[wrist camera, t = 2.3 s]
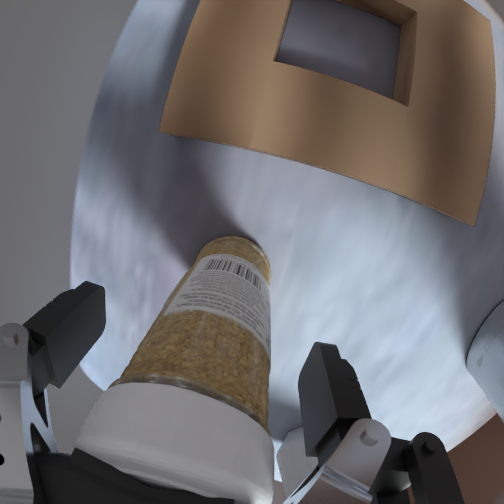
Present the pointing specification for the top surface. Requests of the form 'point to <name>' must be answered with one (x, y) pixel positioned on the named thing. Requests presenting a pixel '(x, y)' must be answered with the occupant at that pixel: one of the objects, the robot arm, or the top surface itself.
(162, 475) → the sprinkles bottle
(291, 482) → the salt shaker
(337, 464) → the robot arm
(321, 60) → the top surface
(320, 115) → the holder board
